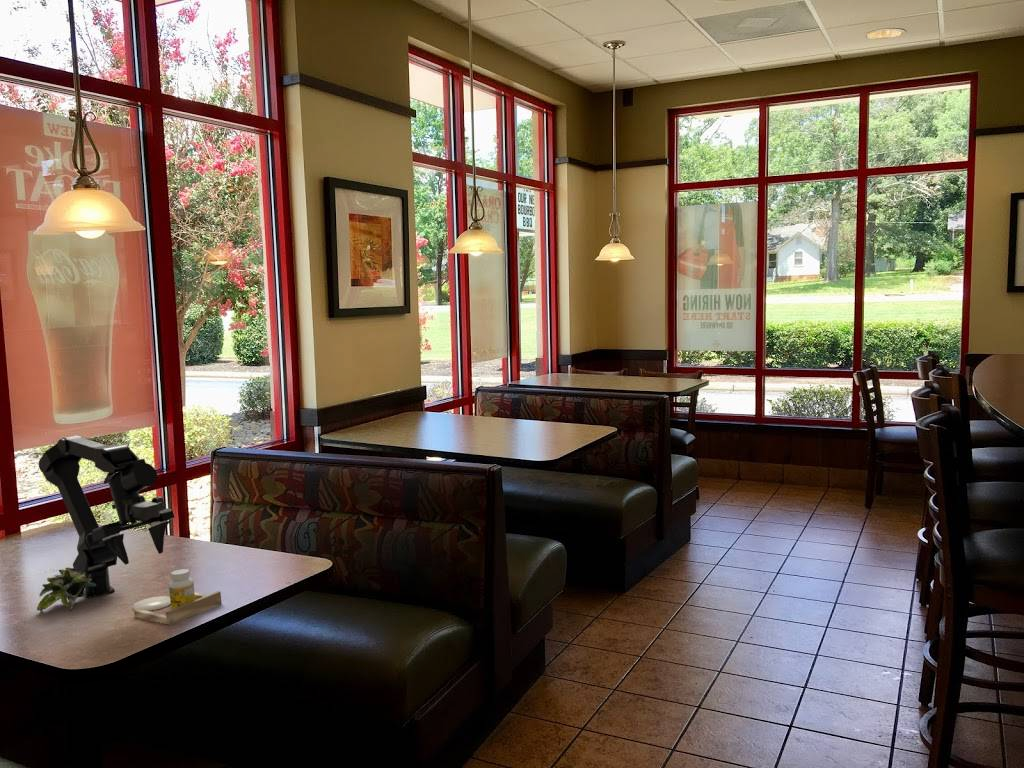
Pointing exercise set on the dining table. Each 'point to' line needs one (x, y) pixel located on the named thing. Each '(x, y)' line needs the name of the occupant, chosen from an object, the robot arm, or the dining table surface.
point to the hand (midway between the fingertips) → (144, 558)
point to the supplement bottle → (181, 588)
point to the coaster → (152, 603)
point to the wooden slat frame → (183, 609)
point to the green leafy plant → (65, 588)
